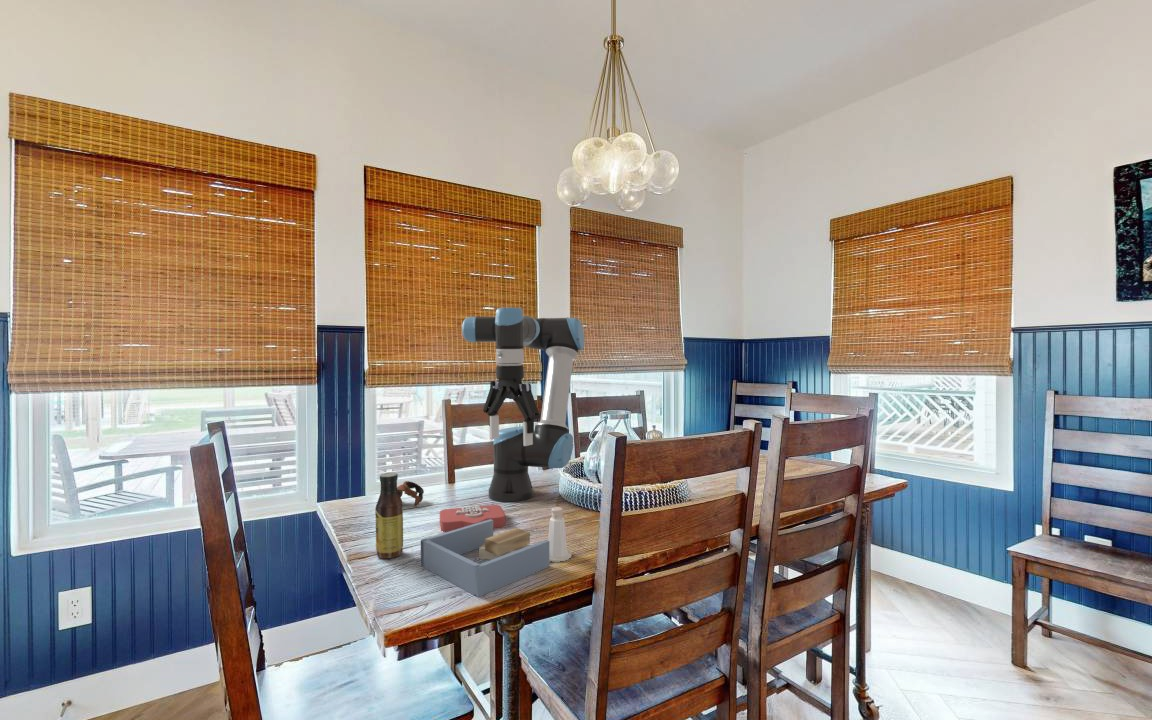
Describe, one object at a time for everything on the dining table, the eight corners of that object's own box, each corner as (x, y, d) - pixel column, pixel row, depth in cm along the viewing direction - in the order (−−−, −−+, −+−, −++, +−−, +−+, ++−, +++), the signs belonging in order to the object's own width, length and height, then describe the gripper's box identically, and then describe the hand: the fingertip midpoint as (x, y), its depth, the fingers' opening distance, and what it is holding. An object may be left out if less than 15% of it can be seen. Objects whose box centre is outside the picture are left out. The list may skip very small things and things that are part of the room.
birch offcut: (487, 552, 128) (487, 540, 128) (537, 557, 125) (537, 545, 125) (478, 560, 123) (478, 548, 123) (530, 566, 120) (530, 553, 120)
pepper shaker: (542, 556, 123) (542, 510, 123) (551, 548, 128) (551, 504, 128) (563, 559, 121) (563, 513, 121) (571, 551, 127) (571, 506, 126)
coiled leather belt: (401, 500, 172) (414, 479, 172) (419, 517, 168) (432, 495, 168) (375, 500, 162) (388, 477, 162) (393, 518, 157) (407, 495, 157)
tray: (490, 542, 134) (490, 519, 134) (549, 566, 119) (549, 541, 119) (420, 565, 119) (420, 539, 119) (478, 597, 104) (478, 567, 104)
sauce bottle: (382, 549, 129) (382, 470, 128) (407, 550, 128) (406, 470, 128) (371, 560, 122) (370, 476, 122) (397, 560, 122) (396, 477, 121)
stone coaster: (557, 548, 130) (557, 546, 130) (577, 556, 125) (577, 553, 125) (536, 556, 125) (536, 554, 125) (557, 564, 120) (557, 562, 120)
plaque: (441, 524, 138) (439, 507, 152) (441, 538, 138) (439, 520, 152) (508, 517, 143) (499, 502, 157) (508, 531, 143) (499, 515, 157)
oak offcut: (485, 550, 122) (485, 538, 122) (516, 538, 130) (516, 527, 130) (498, 555, 119) (498, 543, 119) (529, 543, 127) (529, 532, 126)
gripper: (470, 363, 146) (471, 437, 147) (532, 367, 129) (533, 450, 131) (490, 362, 151) (491, 433, 152) (552, 365, 135) (553, 445, 136)
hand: (510, 441), depth 141 cm, fingers open, 13 cm apart
